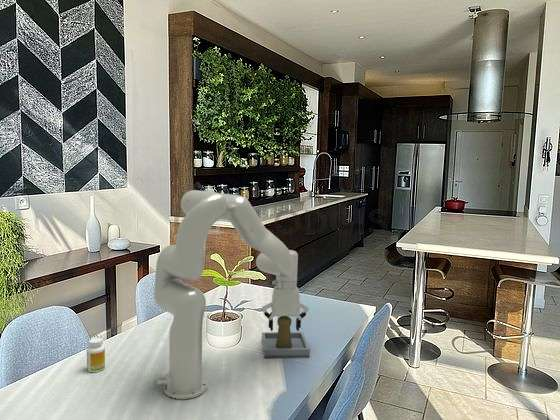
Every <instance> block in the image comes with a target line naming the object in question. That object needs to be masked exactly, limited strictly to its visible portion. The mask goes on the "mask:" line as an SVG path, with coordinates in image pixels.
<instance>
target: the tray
mask: <svg viewBox="0 0 560 420" xmlns="http://www.w3.org/2000/svg"><path fill="white" fill-rule="evenodd" d="M290 333H291V343H292V347H291V348H284V349H278V348H277V347H276V340H277V334H278V331H276V332H275V331H274V332H273V331H270V332H268V331H267V332H266V331H265V332H264V331H263V332H261V344H262V351H263V357H264V358H263V359H291V358H292V359H293V358H294V359H298V358H306V359H307V358H310V355H311V354H310V349H311V348H310V346H309V345H308V342H307V339H306V336H305V334H304V332H303V331H290Z"/></svg>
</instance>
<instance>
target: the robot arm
mask: <svg viewBox="0 0 560 420" xmlns="http://www.w3.org/2000/svg"><path fill="white" fill-rule="evenodd" d="M180 207H181V209H182V212H183V213H184V214H185V216H184V217H183V219H182V220H181V222H180V224H179V226H178V229H177V235H176V236H177V237H176V241H175V242H176V243H175V244H170V245H167V246H165V247H164V248H163V249H162V250H161V251H160V253H159V254H158V256H157V259H156V263H155V264H156V265H155V266H156V267H155V278H154V279H155V280H154V289H153V291H154V292H153V293H154V294H153V297H154V301H155V304H156V306H158V307H159V308H160V309H161V310H162V311H164V312H168V313H170V314H172V315H173V319H172V323H171V325H170V327H169V335H168V338H169V339H168V342H169V344H168V347H169V349H168V350H169V353H168V354H169V357H168V358H169V359H168V360H169V362H168V363H169V366H168V367H169V369H168V373H165V374H155V375H153V377H154V378H153V381H154V382H156V385H157V386H159V385H160V386H161V385H163V392H164V394H165V395H166V396H168V397H169V398H171V397H172V399H175V398H176V399H177V400H188V399H193V398H196V397H199V396H201V395H202V394H203V393H205V391H206V390H207V387H208V383H207V381H206V380H205V379H204V378H203V376H202V375H203V373H202V372H203V369H202V368H203V367H202V366H203V323H204V316H205V311H206V305H207V301H206V297H205V294H204V293H203V292H202V291H201V290H200V289H199V288H197V287H196V286H193V285H192V284H191V285H190V284H188V283H185V282H190V283H191V282H195V281H198V280H199V279H200V278H202V275H203V274H204V273H203V272H204V268H205V257H206V245H207V240H208V239H207V238H208V233H209V231H210V230H211V228H212V227H213V226H214V224H215V223H217V221H219V220H224V221H228V222H230V223H231V225H232V227H233V228H234V229H235V231H236V232H237V234H238V236H239V237H240V238H241V240H242V241H243V243H244V244H246V245H248V246H249V247H250V248H252V249H254V250H255V251H258V252H260V253H259V254H258V256H256V259H255V264H256V267H257V268H258V270H260V271H262V272H263V273H266V274H270V275H271V274H272V275H274V276H276V277H275V280H272V283H271V284H272V285H274V287H273V290H272V291H273V292H272V296H271V302H269V303H267V304H265V305H263V306H261V310H262V313H263V314H264V317H266V318H267V319H268V328H269V329H270V332H273V331H274V318H275V317H281V316H287V317H296V319H295V329H296V332H300V329H301V328H302V325H301V324H302V320H303V319H304V318H305V316H307V314H308V312H309V310H310V308H309V307H308V306H307V305H305V304H303V303H301V299H300V289H299V287H297V286H298V285H297V283H298V265H299V264H298V263H299V261H298V260H299V255H298V252H297V251H296V250H291V249H289V248H288V247H287V246H286V245H285V243H284V242H283V241H281V240H280V239H279V237H278V236H276V235H274V233H272V232H271V231H270V230H269V229H267V228H266V227H265V225H264V223H263V222H262V220H261V219H260V217H259V216H258V214H257V212H256V211H255V209H254V207H253V205H252V204H251V202H250V201H249V200H248V198H246V197H244V196H242V195H239V194H232V193H231V194H230V193H229V194H228V193H219V192H214V191H206V190H198V189H194V190H193V189H192V190H188V191H187V192H186V193H184V194H183V196H182V198H181V201H180ZM184 281H185V282H184ZM268 309H271V312H270V313H269V312H268V311H267V310H268ZM301 309H303V311H302V312H301V311H300V310H301ZM176 399H175V400H176Z"/></svg>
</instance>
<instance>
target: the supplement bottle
mask: <svg viewBox="0 0 560 420" xmlns="http://www.w3.org/2000/svg"><path fill="white" fill-rule="evenodd" d="M88 345H89V346H88V347H87V348H86V370H87V372H88V373H100V372H102V371H103V370H104V369H106V368H105V367H106V350H105V348H106V347H105V345H104V344H103V339H102V338H100V337H94V338H90V339H89V341H88ZM101 370H102V371H101Z"/></svg>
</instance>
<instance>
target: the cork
mask: <svg viewBox="0 0 560 420" xmlns="http://www.w3.org/2000/svg"><path fill="white" fill-rule="evenodd" d="M277 326H278V328H277V332H278V334H277V340H276V347H277V348H278V349H284V348H291V347H292V343H291V333H290V332H291V326H292V318H291V316H278V319H277Z"/></svg>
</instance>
